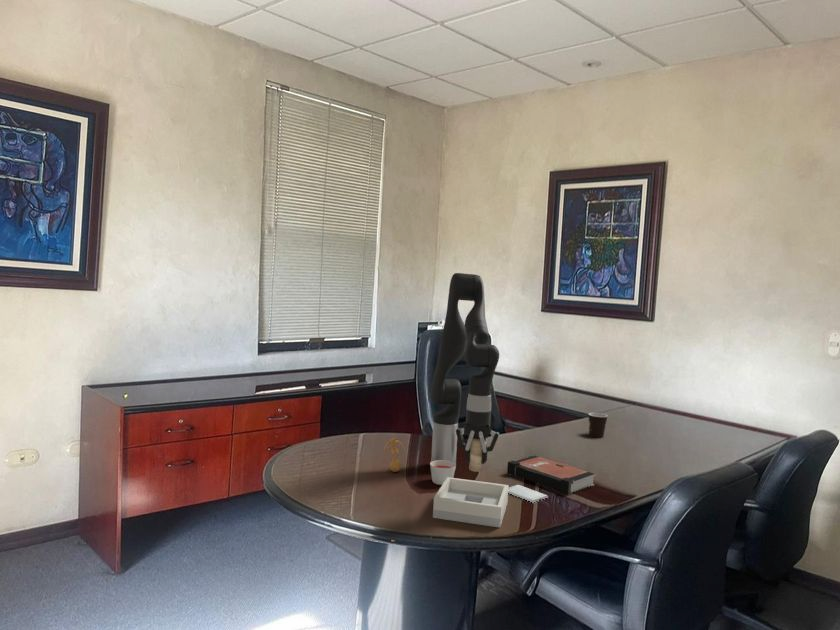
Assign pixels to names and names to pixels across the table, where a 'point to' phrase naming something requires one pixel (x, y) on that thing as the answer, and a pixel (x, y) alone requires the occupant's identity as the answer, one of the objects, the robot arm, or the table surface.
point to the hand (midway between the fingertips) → (475, 462)
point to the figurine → (394, 465)
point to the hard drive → (526, 493)
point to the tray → (471, 502)
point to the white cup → (442, 471)
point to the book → (551, 474)
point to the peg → (475, 455)
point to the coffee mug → (597, 424)
